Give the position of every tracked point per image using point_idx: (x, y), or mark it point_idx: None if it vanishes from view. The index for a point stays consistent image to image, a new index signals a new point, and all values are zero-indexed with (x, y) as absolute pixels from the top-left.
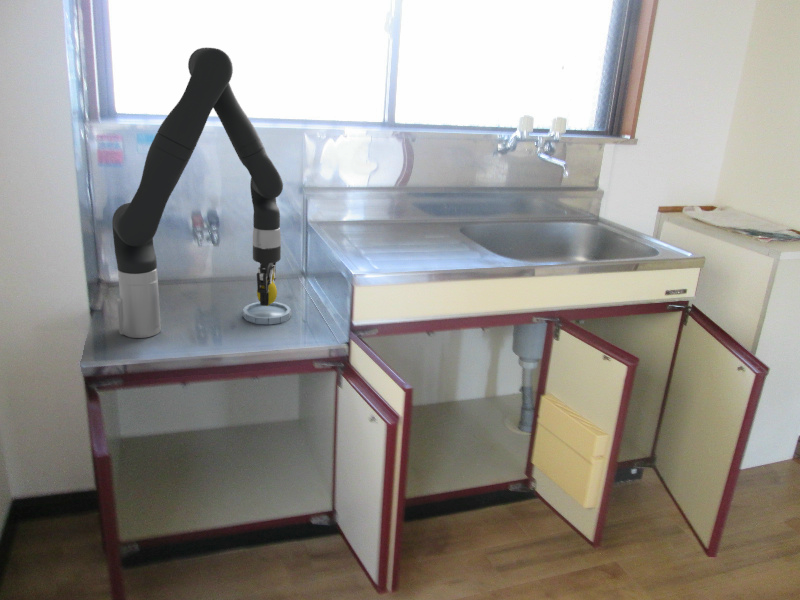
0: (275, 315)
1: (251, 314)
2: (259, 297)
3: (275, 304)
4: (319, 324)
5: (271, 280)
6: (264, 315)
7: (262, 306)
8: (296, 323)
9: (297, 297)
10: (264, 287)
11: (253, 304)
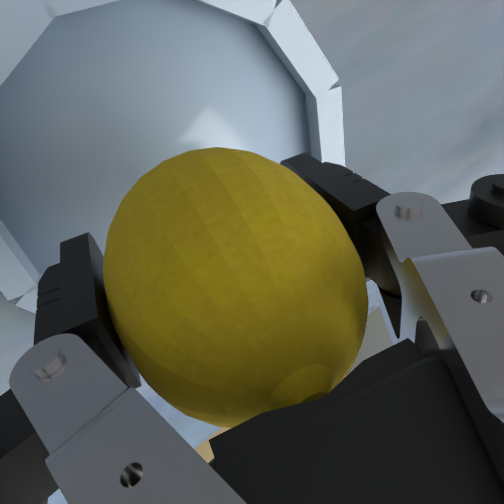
0: None
1: None
2: (107, 236)
3: None
4: (191, 426)
5: (394, 330)
6: (99, 203)
7: (269, 82)
8: None
9: (484, 167)
10: (154, 384)
11: (236, 9)
